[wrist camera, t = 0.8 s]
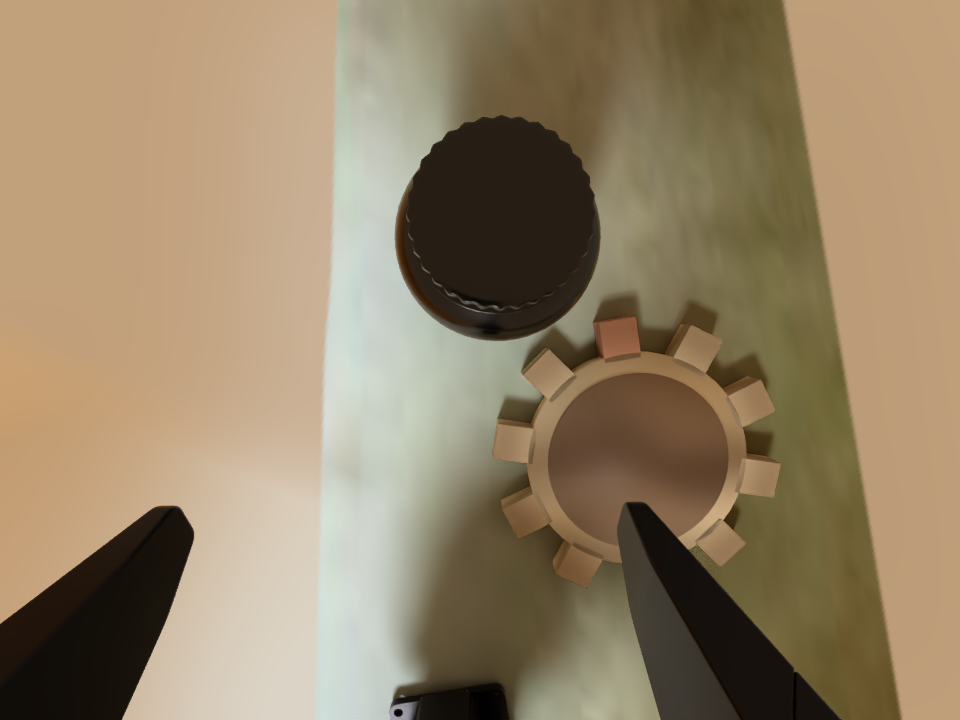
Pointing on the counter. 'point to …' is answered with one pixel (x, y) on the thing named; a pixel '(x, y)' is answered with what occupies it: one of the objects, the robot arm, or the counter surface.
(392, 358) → the counter surface
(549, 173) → the supplement bottle
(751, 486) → the sprocket wheel
